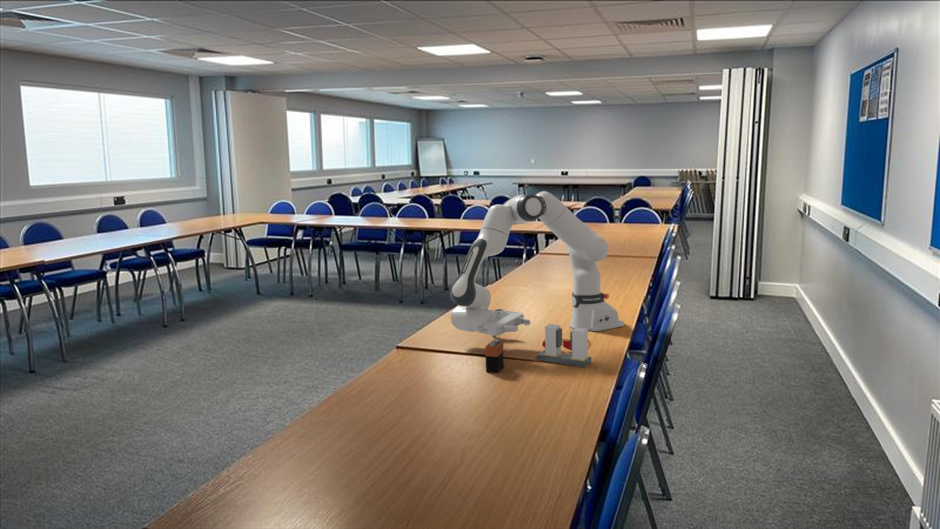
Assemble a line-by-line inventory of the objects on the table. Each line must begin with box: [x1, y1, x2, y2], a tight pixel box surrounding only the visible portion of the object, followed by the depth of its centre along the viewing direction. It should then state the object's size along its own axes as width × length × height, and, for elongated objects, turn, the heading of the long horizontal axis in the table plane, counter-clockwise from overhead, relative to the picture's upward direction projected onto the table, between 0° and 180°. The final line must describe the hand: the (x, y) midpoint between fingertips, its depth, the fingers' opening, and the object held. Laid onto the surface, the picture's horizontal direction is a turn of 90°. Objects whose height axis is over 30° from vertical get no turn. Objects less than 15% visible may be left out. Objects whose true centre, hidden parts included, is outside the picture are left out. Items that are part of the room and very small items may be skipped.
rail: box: [536, 350, 593, 368], centre depth 228 cm, size 18×6×2 cm, turn 57°
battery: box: [484, 338, 505, 374], centre depth 221 cm, size 4×7×10 cm, turn 159°
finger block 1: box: [544, 323, 563, 356], centre depth 229 cm, size 5×4×10 cm
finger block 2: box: [569, 327, 589, 360], centre depth 224 cm, size 5×4×10 cm
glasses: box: [541, 338, 590, 352], centre depth 247 cm, size 14×16×5 cm
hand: (523, 325), depth 235 cm, fingers open, 8 cm apart
